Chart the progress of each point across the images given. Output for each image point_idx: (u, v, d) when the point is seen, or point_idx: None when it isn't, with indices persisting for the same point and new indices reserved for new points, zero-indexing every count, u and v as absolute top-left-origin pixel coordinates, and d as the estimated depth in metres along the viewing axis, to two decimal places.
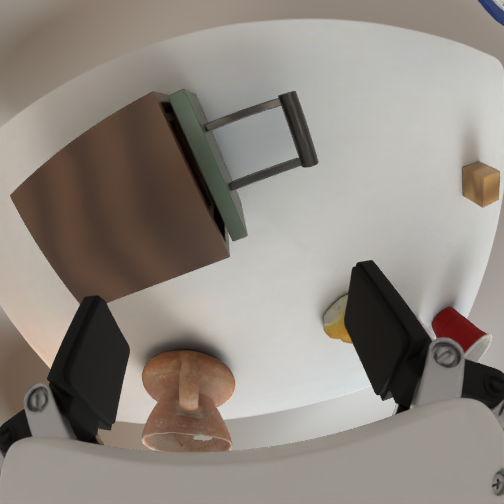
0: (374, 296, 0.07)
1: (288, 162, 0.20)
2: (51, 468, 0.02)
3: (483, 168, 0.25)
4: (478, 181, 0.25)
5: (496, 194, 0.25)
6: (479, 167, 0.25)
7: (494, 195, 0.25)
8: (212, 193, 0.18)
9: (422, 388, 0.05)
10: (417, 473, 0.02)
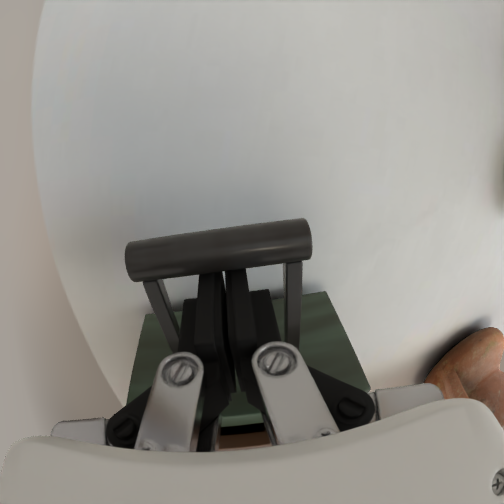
0: (226, 293, 0.08)
1: (286, 284, 0.10)
2: (51, 468, 0.02)
3: None
4: None
5: None
6: None
7: None
8: None
9: (270, 410, 0.05)
10: (417, 473, 0.02)
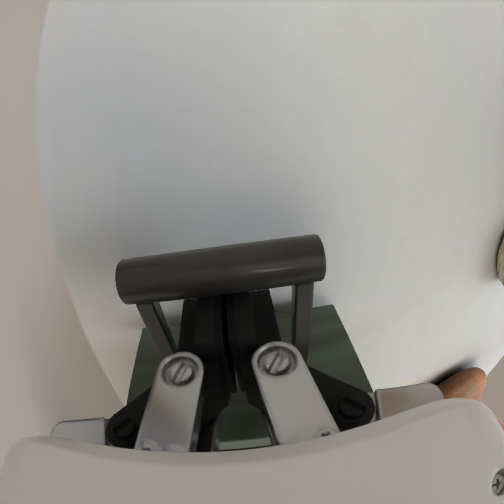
0: None
1: (295, 306, 0.09)
2: (51, 468, 0.02)
3: None
4: None
5: None
6: None
7: None
8: None
9: (270, 410, 0.05)
10: (417, 473, 0.02)
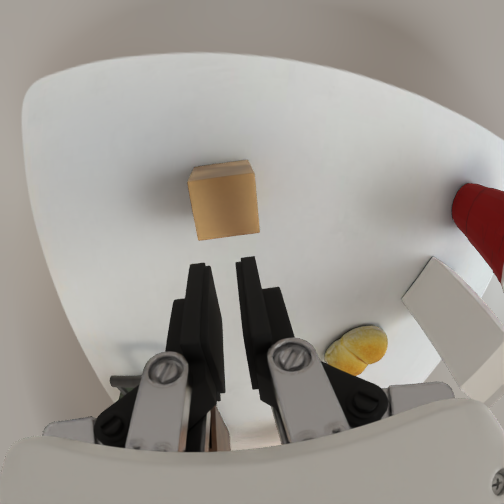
0: (238, 290, 0.08)
1: None
2: (51, 468, 0.02)
3: None
4: None
5: (239, 186, 0.17)
6: None
7: (241, 192, 0.18)
8: None
9: (284, 405, 0.05)
10: (417, 473, 0.02)
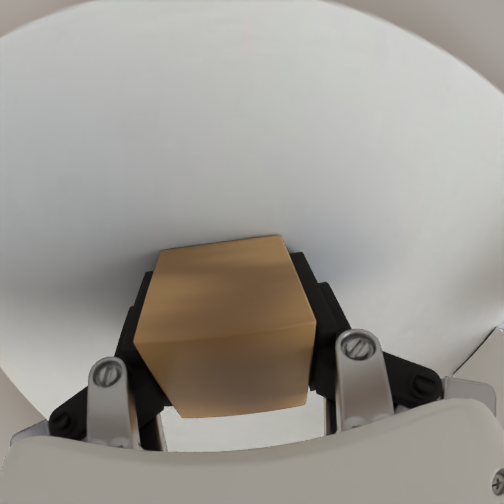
0: None
1: None
2: (51, 468, 0.02)
3: None
4: None
5: (273, 350, 0.06)
6: None
7: (277, 360, 0.07)
8: None
9: (342, 390, 0.05)
10: (417, 473, 0.02)
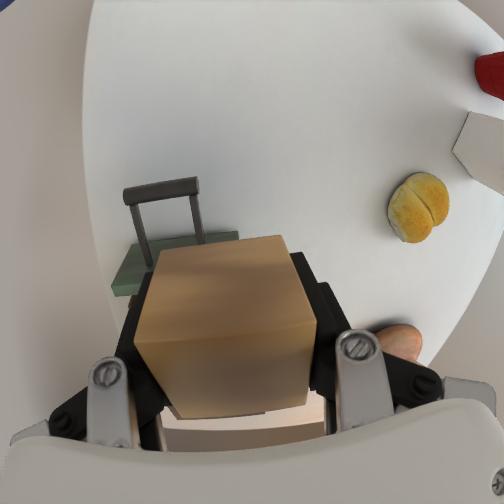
0: None
1: (191, 207, 0.21)
2: (51, 468, 0.02)
3: None
4: None
5: (273, 350, 0.06)
6: None
7: (277, 360, 0.07)
8: None
9: (342, 390, 0.05)
10: (417, 473, 0.02)
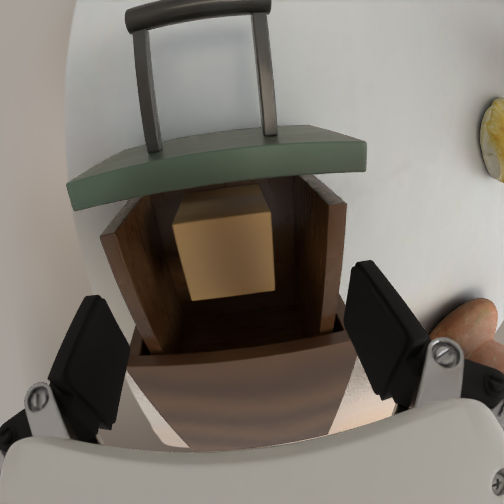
0: (373, 296, 0.08)
1: (254, 30, 0.08)
2: (51, 468, 0.02)
3: None
4: None
5: (248, 230, 0.12)
6: None
7: (251, 240, 0.12)
8: (261, 175, 0.09)
9: (421, 388, 0.05)
10: (417, 473, 0.02)
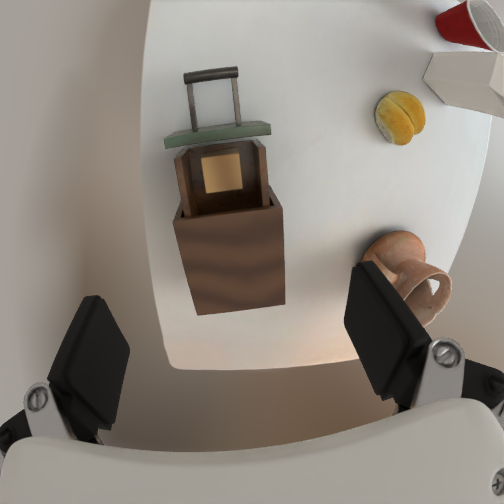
0: (374, 296, 0.08)
1: (232, 85, 0.26)
2: (51, 468, 0.02)
3: None
4: None
5: (230, 160, 0.30)
6: None
7: (231, 164, 0.30)
8: (233, 137, 0.27)
9: (422, 388, 0.05)
10: (417, 473, 0.02)
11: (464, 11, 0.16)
